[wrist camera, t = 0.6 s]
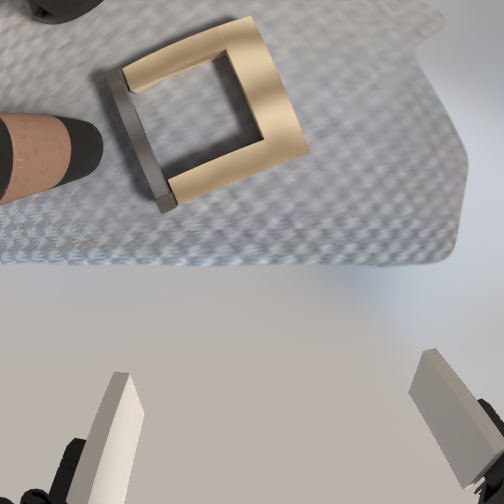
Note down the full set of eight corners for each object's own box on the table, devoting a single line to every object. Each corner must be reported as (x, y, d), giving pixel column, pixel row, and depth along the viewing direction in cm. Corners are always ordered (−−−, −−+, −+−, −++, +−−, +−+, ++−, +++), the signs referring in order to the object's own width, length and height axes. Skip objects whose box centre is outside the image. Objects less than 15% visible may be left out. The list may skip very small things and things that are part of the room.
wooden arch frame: (116, 80, 30) (103, 74, 26) (249, 23, 29) (251, 11, 25) (168, 207, 35) (161, 214, 32) (304, 152, 34) (312, 153, 30)
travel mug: (70, 191, 34) (-42, 238, 15) (46, 142, 31) (-72, 156, 12) (116, 158, 33) (7, 179, 14) (89, 106, 31) (-25, 88, 12)
